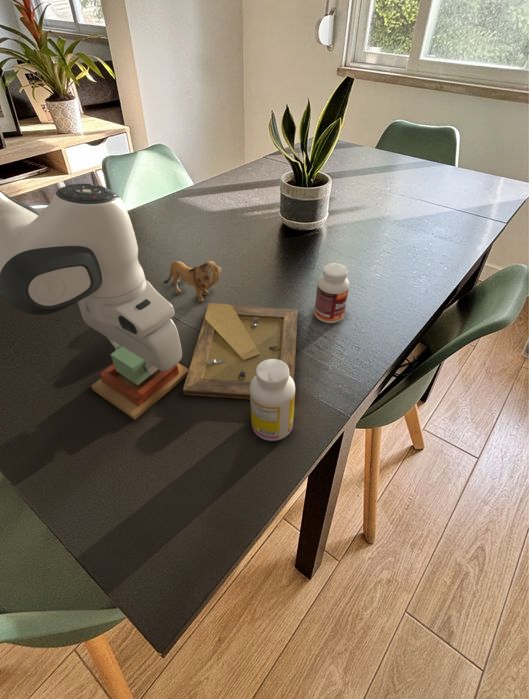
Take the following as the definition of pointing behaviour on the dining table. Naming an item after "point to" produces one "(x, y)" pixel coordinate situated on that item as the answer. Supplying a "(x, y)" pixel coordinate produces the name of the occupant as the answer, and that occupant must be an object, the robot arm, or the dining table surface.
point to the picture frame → (239, 348)
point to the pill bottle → (332, 293)
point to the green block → (129, 365)
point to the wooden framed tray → (137, 388)
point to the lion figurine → (195, 276)
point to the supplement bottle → (272, 400)
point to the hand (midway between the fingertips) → (137, 362)
